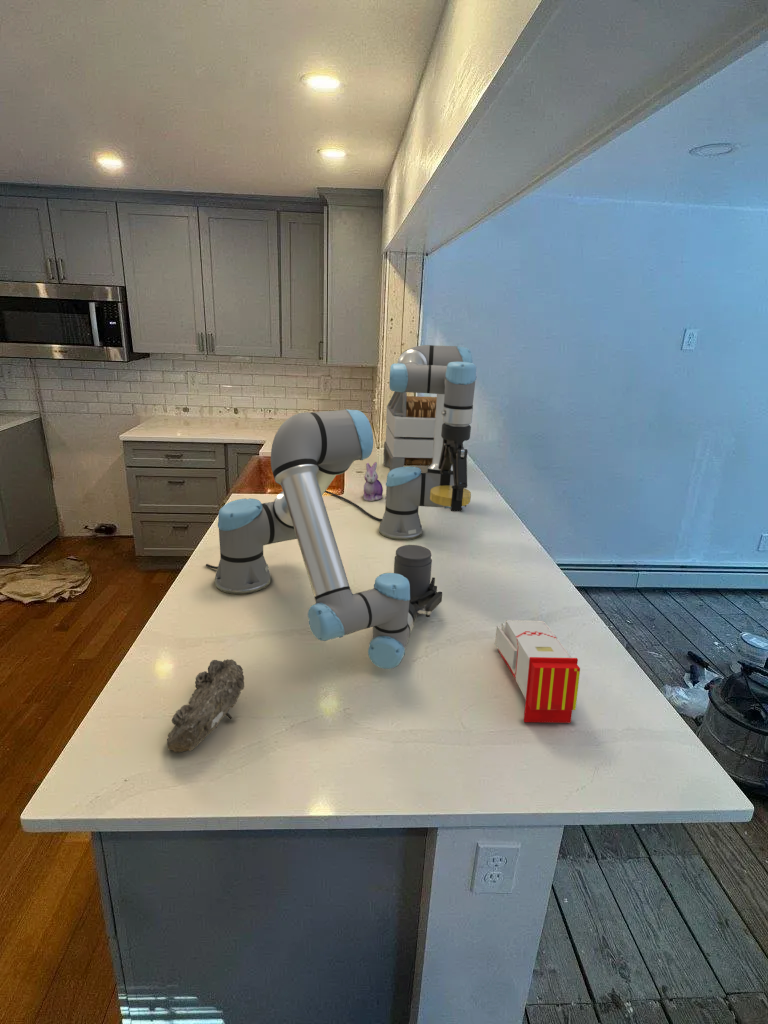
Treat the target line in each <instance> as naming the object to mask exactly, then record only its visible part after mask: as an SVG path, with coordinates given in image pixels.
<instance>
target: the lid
mask: <svg viewBox="0 0 768 1024" xmlns="http://www.w3.org/2000/svg"><path fill="white" fill-rule="evenodd" d="M452 490H453V489H452V486H449V485H443V486H436V487H433V488H432V489H431V492H430V500H431V501H432V502H434V503H436V504H439V505H443V506H450V507H451V501H452ZM471 497H472V492H471V491H470V490H469V489H467V488H464V489H463V499H462V507H465V505H466V506H467V505H469V504H470V503H471Z"/></svg>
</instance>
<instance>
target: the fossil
mask: <svg viewBox="0 0 768 1024" xmlns="http://www.w3.org/2000/svg"><path fill="white" fill-rule="evenodd" d="M243 670H244V669H243V667H242V665H240V664H237V662H236V661H235V660H234V659H232V658H231V659H227V658H226V659H224V660H223V661H222V660H217V659H212V660H211V661H210V663H209V665H208V666H207V671H201V672H199V673H198V674H197V675H196V676H195V680H194V684H195V685H194V687H195V689H194V690H193V693H192V694H191V697H190V698H189V700H188V704H184V705H182V706H181V707H180V709H177V710H176V711H175V713H174V715H173V716H172V718H171V723H172V724H173V727H172V730H171V731H170V732H168V734H167V738H166V741H167V742H166V745H167V749H168V750H169V751H173V752H174V753H176V754H178V753H182V752H188V751H189V752H192V751H193V750H195V748H196V747H197V746H199V744H200V743H201V742H203V741H204V740H205V739H206V738H207V737H208V736H209V735H210V734H211V733H212V732H214V730H215V729H217V727H218V726H219V724H220V722H221V721H222V720H223V719H224V718H225V716H226V717H227V719H229V720H233V717H232V715H230V714H229V710H230V709H231V708H234V706H235V704H236V703H237V702H238V699H239V697H240V695H241V693H242V691H243V690H245V689H244V688H245V675H244V671H243Z"/></svg>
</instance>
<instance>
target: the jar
mask: <svg viewBox="0 0 768 1024" xmlns="http://www.w3.org/2000/svg"><path fill="white" fill-rule="evenodd" d="M432 565H433V559H432V551H431V550H430V549H429V548H427V547H426V546H423V545H419V544H405V545H401V546H399V547H397V548H396V550H395V556H394V561H393V573H397V574H400V575H403V576H404V577H405V578H407V579H408V581H409V584H410V599H412V598H414V597H419V596H421V595H423V594H424V593H426V592H428V591H429V586H430V583H431V580H432ZM426 605H427V604H426ZM423 607H424V606H422V607H421V608H423ZM421 615H422V614H419V615H418V616H421Z"/></svg>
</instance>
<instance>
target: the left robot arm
mask: <svg viewBox="0 0 768 1024" xmlns="http://www.w3.org/2000/svg"><path fill="white" fill-rule="evenodd" d="M373 448H374V434H373V429H372V425H371V423H370V421H369V419H368V416H366V414H365V413H364V412H363V411H361V410H359V409H348V408H346V409H339V410H338V409H337V410H327V411H313V412H308V411H307V412H306V411H305V412H299V413H296V414H294V415H292V416H290V417H288V418H287V419H286V420H285V421H283V423H282V424H281V425H280V427H279V428H278V430H277V431H276V433H275V435H274V437H273V440H272V444H271V449H270V468H271V472H272V474H273V475H272V476H273V479H274V482H275V483H276V484H278V485H280V486H281V489H282V491H281V492H280V493H278V494H277V496H276V497H275V499H274V500H273V501H269V502H268V501H267V502H263V503H262V502H261V501H260V500H259V499H256V498H241V499H235V500H232V501H229V502H226V503H225V504H223V506H222V507H221V508H220V509H219V511H218V517H217V518H218V519H217V520H218V521H217V528H218V538H219V554H220V559H219V562H218V565H217V566H215V565H211V564H209V563H206V564H205V567H207V568H210V569H214V570H216V573H215V576H214V577H215V578H214V585H215V588H217V589H218V591H221V592H224V593H227V594H233V595H248V594H253V593H256V592H260V591H262V590H264V589H266V588H267V587H268V586H269V585H270V584H271V580H272V579H271V577H272V576H271V571H270V568H269V567H270V566H269V565H268V563H267V561H266V558H265V556H264V546H267V545H271V544H277V543H282V542H288V541H292V540H297V543H298V546H299V550H300V554H301V556H302V559H303V563H304V566H305V569H306V574H307V576H308V580H309V583H310V587H311V590H312V594H313V597H314V601H315V604H312V605H311V606H310V607H309V608H308V612H307V619H308V626H309V629H310V631H311V633H312V635H313V636H314V637H315V639H317V640H318V641H321V642H326V641H330V640H334V639H340V638H344V636H348V635H350V634H353V633H357V632H360V631H363V630H366V629H370V628H372V638H371V639H370V641H369V643H368V644H369V645H368V649H367V655H368V658H369V660H370V661H371V663H372V664H373V665H374V666H376V667H377V668H379V669H382V670H392V669H394V668H396V667H398V666H399V665H400V664H401V662H402V660H403V658H404V656H405V655H406V649H407V646H408V642H409V639H410V637H411V635H412V634H411V633H412V631H413V628H414V625H415V622H416V619H417V617H418V616H420V615H419V614H421V615H424V616H425V617H426V618H431V615H432V612H433V611H435V609H436V608H437V607H438V606H439V605H440V604H441V603H442V601H443V591H438V585H435V584H436V577H434V576H433V577H432V576H431V580H430V586H429V591H428V592H426V593H424V594H423V595H421V596H419V597H414V598H412V599H410V584H409V581H408V579H407V578H405V577H404V576H403V575H400V574H397V573H394V572H385V573H381V574H379V575H378V576H376V578H375V580H374V583H373V588H371V589H367V590H363V591H360V592H356V593H353V592H352V589H351V587H350V583H349V580H348V576H347V572H346V570H345V567H344V563H343V560H342V556H341V554H340V550H339V548H338V544H337V541H336V537H335V534H334V531H333V528H332V525H331V521H330V518H329V514H328V511H327V507H326V503H325V501H324V498H323V495H324V494H325V491H327V490H328V488H329V487H330V485H331V484H332V482H333V481H334V479H335V478H336V476H339V475H342V474H344V473H346V472H347V471H348V470H349V469H350V467H351V466H352V465H353V463H354V462H356V461H363V460H366V459H369V458H370V456H371V455H372V452H373ZM426 604H427V605H426ZM422 606H424V607H423V608H421V607H422Z"/></svg>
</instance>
